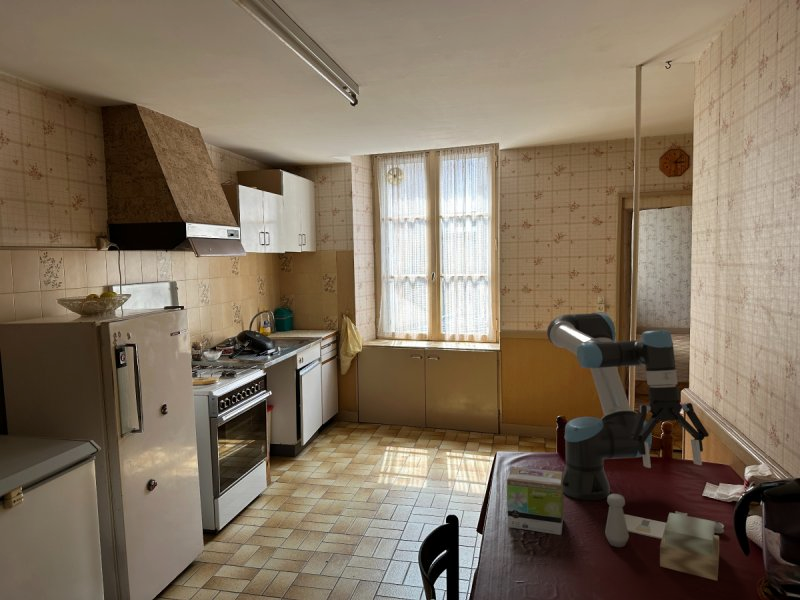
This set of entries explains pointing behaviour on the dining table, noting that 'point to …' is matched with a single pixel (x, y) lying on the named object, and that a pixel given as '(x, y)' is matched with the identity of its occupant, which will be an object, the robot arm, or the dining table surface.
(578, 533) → the dining table surface
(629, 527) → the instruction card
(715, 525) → the toy set
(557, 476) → the tea box
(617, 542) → the salt shaker
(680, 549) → the zigzag patterned box
